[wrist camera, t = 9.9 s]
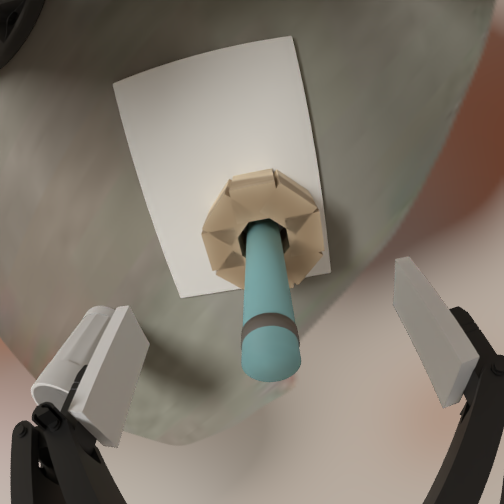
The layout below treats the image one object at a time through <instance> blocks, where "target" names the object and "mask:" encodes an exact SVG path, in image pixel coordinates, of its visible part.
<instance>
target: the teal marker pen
mask: <svg viewBox="0 0 504 504" xmlns="http://www.w3.org/2000/svg"><path fill="white" fill-rule="evenodd" d="M299 346H300V342H299V336H298V330H297V326H296V324H295V318H294V312H293V306H292V300H291V294H290V288H289V282H288V276H287V271H286V265H285V259H284V254H283V248H282V242H281V237H280V231H279V226H278V223H277V222H275V221H273V220H272V219H270V218H267V219H262V220H257V221H251V222H248V224H247V242H246V265H245V288H244V312H243V329H242V334H241V350H242V362H241V363H242V368H243V370H244V372H245V373H246V374H247V375H248V376H250V377H251V378H253V379H256V380H259V381H263V382H276V381H281V380H284V379H287V378H289V377H290V376H292V375H293V374H295V373H296V372H297V370H298V369H299V367H300V365H301V356H300V351H299Z"/></svg>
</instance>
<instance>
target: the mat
mask: <svg viewBox="0 0 504 504" xmlns="http://www.w3.org/2000/svg"><path fill="white" fill-rule="evenodd" d="M113 88H114V92H115V96H116V100H117V104H118V108H119V112H120V116H121V120H122V123H123V127H124V131H125V134H126V138H127V142H128V145H129V149H130V152H131V155H132V159H133V162H134V165H135V169H136V172H137V175H138V179H139V182H140V185H141V188H142V191H143V194H144V197H145V200H146V204H147V207H148V210H149V213H150V216H151V218H152V221H153V224H154V227H155V230H156V233H157V236H158V239H159V241H160V244H161V247H162V250H163V252H164V255H165V258H166V261H167V263H168V266H169V269H170V271H171V274H172V277H173V279H174V282H175V284H176V287H177V289H178V292H179V295H180V297H181V298H184V297H191V296H198V295H204V294H210V293H217V292H223V291H229V290H235V289H241V288H239V287H237V286H235V285H234V284H232V283H230V282H228V281H226V280H224V279H223V278H221V277H219V276H217V275H216V270H215V271H212V268H211V265H210V261H209V258H208V255H207V252H206V249H205V245H204V242H203V239H202V235H201V233H202V231H203V230H202V227H203V225H204V222H205V220H206V217H207V215H208V212H209V210H210V208H211V207H212V205H213V203H214V202H215V200H216V199H217V197H218V195H219V194H220V192H221V191H222V189H223V188H224V186H225V185H226V183H227V181H228V180H229V179H231V180H232V178H233V176H236V175H241V174H246V173H250V172H255V171H261V170H266V169H271V168H272V172H273V174H274V172H275V171H276V169H277V170H278V171H280V172H281V173H283V174H285V175H286V176H288V177H289V178H291V179H292V180H294V181H295V182H297V183H298V184H299V185H301V186H302V187H304V188H305V189H307V190H308V191H309V193H310V194H311V196H312V198H313V200H314V202H315V204H316V206H317V207H318V209H319V211H320V217H321V225H322V233H323V241H324V250H325V251H322V253H323V256H322V257H321V259H320V260H319V261H318V262H317V263H316V265H315V266H314V267H313V268H312V269H311V271H310V272H309V273H308V274H307V275H306V277H310V276H316V275H321V274H326V273H331V266H330V257H329V247H328V238H327V230H326V222H325V214H324V206H323V199H322V192H321V185H320V178H319V171H318V165H317V159H316V153H315V147H314V141H313V135H312V129H311V124H310V118H309V113H308V108H307V103H306V98H305V93H304V88H303V83H302V78H301V74H300V69H299V65H298V60H297V56H296V51H295V47H294V43H293V39H292V36H286V37H279V38H273V39H267V40H261V41H255V42H250V43H245V44H240V45H235V46H231V47H226V48H222V49H218V50H214V51H210V52H206V53H202V54H198V55H194V56H191V57H187V58H184V59H181V60H177V61H174V62H171V63H168V64H164V65H161V66H158V67H155V68H152V69H150V70H147V71H144V72H141V73H138V74H136V75H133V76H130V77H128V78H125V79H123V80H120V81H118V82H115V83H113ZM278 226H279V231H281V230H282V229H283V226H281V225H280V224H278ZM243 230H244V233H246V234H247V225H246V227H245V228H244V229H243Z"/></svg>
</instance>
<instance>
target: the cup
mask: <svg viewBox="0 0 504 504" xmlns="http://www.w3.org/2000/svg"><path fill="white" fill-rule="evenodd" d="M114 312H115V309H112V308H110V307H106V306H95V307H92V308H91V309H89V310H88V311H87V313H86V314H85V316H84V318H83V319H82V321H81V322H80V323H79V325H78V326H77V327H76V329H75V330H74V331H73V332H72V334H71V335H70V336H69V338H68V339H67V340H66V342H65V343H64V344H63V346H62V347H61V348H60V350H59V351H58V352H57V354H56V355H55V357H54V358H53V359H52V361H51V362H50V363H49V364H48V365H47V367H46V368H45V369H44V371H43V372H42V373H41V375H40V376H39V377H38V379H37V380H36V382H35V383H34V385H33V386H32V388H31V394H32V397H33V399H34V401H35V402H36V404H37V405H40V404H41V403H43V402H51V403H53V404H54V406H55V407H56V408H57V409H58V410H59V411H61V409H62V406H63V404H64V402H65V400H66V397H67V395H68V393H69V391H70V390H71V386H72V384H73V383H74V380H75V378H76V376H77V373H78V372H79V371H80V370H81V369H82V367H83V366H84V365H88V364H89V362H90V360H91V358H92V356H93V354H94V352H95V350H96V348H97V346H98V343H99V341H100V339H101V337H102V335H103V333H104V331H105V329H106V327H107V326H108V324H109V322H110V320H111V318H112V316H113V314H114Z"/></svg>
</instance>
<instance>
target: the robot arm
mask: <svg viewBox="0 0 504 504" xmlns="http://www.w3.org/2000/svg"><path fill="white" fill-rule="evenodd" d="M43 3H44V0H0V69H1V68H2V67H3V66H4V65H5V64H6V63H7V62H8V61H9V60H10V59H11V58H12V57H13V56H14V55H15V53H16V52H17V51H18V49H19V48H20V47H21V45H22V44H23V43H24V41H25V39H26V38H27V36H28V35H29V33H30V31H31V30H32V28H33V26H34V24H35V22H36V20H37V18H38V16H39V13H40V11H41V9H42V6H43ZM393 306H394V308H395V310H396V312H397V313H398V315H399V317H400V319H401V321H402V323H403V325H404V327H405V329H406V331H407V333H408V335H409V337H410V339H411V340H412V343H413V345H414V347H415V348H416V351H417V353H418V355H419V357H420V359H421V361H422V363H423V365H424V367H425V369H426V372H427V374H428V376H429V378H430V380H431V382H432V385H433V387H434V389H435V391H436V393H437V396H438V398H439V400H440V403H441V405H442V407H443V408H445V407H448V406H451V405H453V404H456V403H458V402H459V401H460V400H461V398H462V395H463V394H464V395H465V398H466V400H467V402H466V404H465V406H464V408H463V410H462V411H461V413H460V415H461V418H460V422H459V424H458V427H457V430H456V432H455V435H454V438H453V440H452V442H451V445H450V448H449V450H448V452H447V455H446V457H445V459H444V461H443V464H442V466H441V468H440V470H439V472H438V475H437V477H436V479H435V481H434V483H433V485H432V487H431V489H430V491H429V493H428V495H427V497H426V499H425V500H424V502H423V504H478V503H479V500H480V498H481V495H482V493H483V490H484V488H485V485H486V483H487V480H488V477H489V474H490V472H491V469H492V466H493V463H494V460H495V456H496V453H497V450H498V447H499V443H500V439H501V436H502V432H503V428H504V356H503V355H497V354H496V353H495V351H494V349H493V348H492V346H491V345H490V344H489V342H488V340H487V339H486V337H485V336H484V335H483V333H482V332H481V330H479V327H478V326H477V324H476V323H474V320H473V319H472V317H471V316H470V315H469V313H468V312H466V311H465V310H463V309H462V308H460V307H455V308H452V309H448V307H447V306H446V305H445V303H444V302H443V300H442V299H441V297H440V296H439V295H438V293H437V292H436V291H435V289H434V288H433V286H432V285H431V284H430V282H429V281H428V280H427V278H426V277H425V276H424V275H423V273H422V272H421V271H420V269H419V268H418V267H417V265H416V264H415V263H414V261H413V260H412V259H411V258H410V256H408V257H403V258H399V259H395V278H394V296H393ZM149 345H150V344H149V342H148V340H147V338H146V336H145V335H144V333H143V331H142V329H141V327H140V325H139V323H138V321H137V320H136V318H135V316H134V314H133V312H132V310H131V308H130V306H122V307H117V308H116V310H115V312H114V314H113V316H112V318H111V320H110V322H109V324H108V326H107V327H106V329H105V331H104V333H103V335H102V337H101V339H100V341H99V343H98V346H97V348H96V350H95V352H94V354H93V356H92V358H91V360H90V362H89V364H88V365H84V366H83V367H82V369H81V370H80V371H79V372H78V373H77V376H76V378H75V380H74V383H73V384H72V386H71V390H70V391H69V393H68V395H67V397H66V400H65V402H64V404H63V406H62V409H61V411H59V410H58V409H57V408H56V407H55V406H54V404H53V403H51V402H43V403H41V404H40V405H38V406H37V407H36V408H35V410H34V412H33V414H32V421H34V422H35V423H36V424H37V425H38V426H36V427H34V426H33V425H32V424H31V423H30V422H28V421H21V422H19V423H18V424H17V425H16V426H15V428H14V430H13V434H12V448H11V504H127V503H126V501H125V500H124V498H123V496H122V494H121V493H120V491H119V489H118V487H117V485H116V484H115V482H114V480H113V478H112V476H111V474H110V472H109V470H108V468H107V466H106V464H105V462H104V460H103V458H102V456H101V454H100V451H99V449H98V448H97V447H96V446H95V443H96V440H98V441H99V442H100V443H101V444H102V445H103V446H108V447H116V448H118V445H119V442H120V438H121V434H122V431H123V427H124V424H125V421H126V417H127V414H128V411H129V407H130V404H131V401H132V397H133V394H134V391H135V388H136V385H137V381H138V378H139V375H140V372H141V369H142V366H143V363H144V360H145V357H146V354H147V351H148V348H149ZM38 462H40V463H41V467H39V463H38ZM500 504H504V478H503V486H502V494H501V500H500Z"/></svg>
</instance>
